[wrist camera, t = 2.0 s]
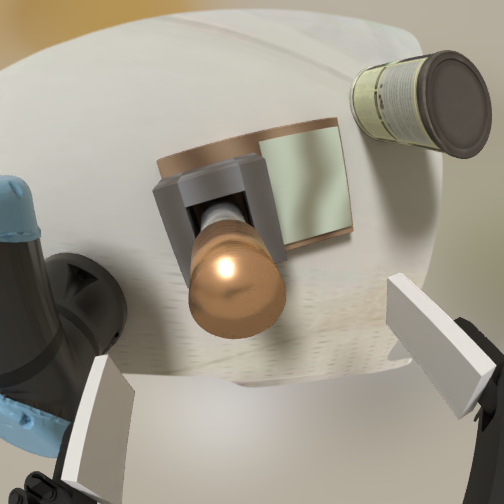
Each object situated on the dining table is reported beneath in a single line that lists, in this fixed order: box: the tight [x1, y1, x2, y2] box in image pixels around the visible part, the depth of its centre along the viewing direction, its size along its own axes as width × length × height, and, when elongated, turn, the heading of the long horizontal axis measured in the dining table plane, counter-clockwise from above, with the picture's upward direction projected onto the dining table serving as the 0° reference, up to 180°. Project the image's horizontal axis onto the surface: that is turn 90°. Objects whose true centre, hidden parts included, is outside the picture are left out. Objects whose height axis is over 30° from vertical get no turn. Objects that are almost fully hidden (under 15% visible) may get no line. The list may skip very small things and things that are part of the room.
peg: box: [189, 194, 286, 339], centre depth 24 cm, size 5×5×18 cm
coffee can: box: [350, 50, 492, 159], centre depth 25 cm, size 10×10×14 cm
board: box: [152, 118, 353, 288], centre depth 30 cm, size 20×14×8 cm
